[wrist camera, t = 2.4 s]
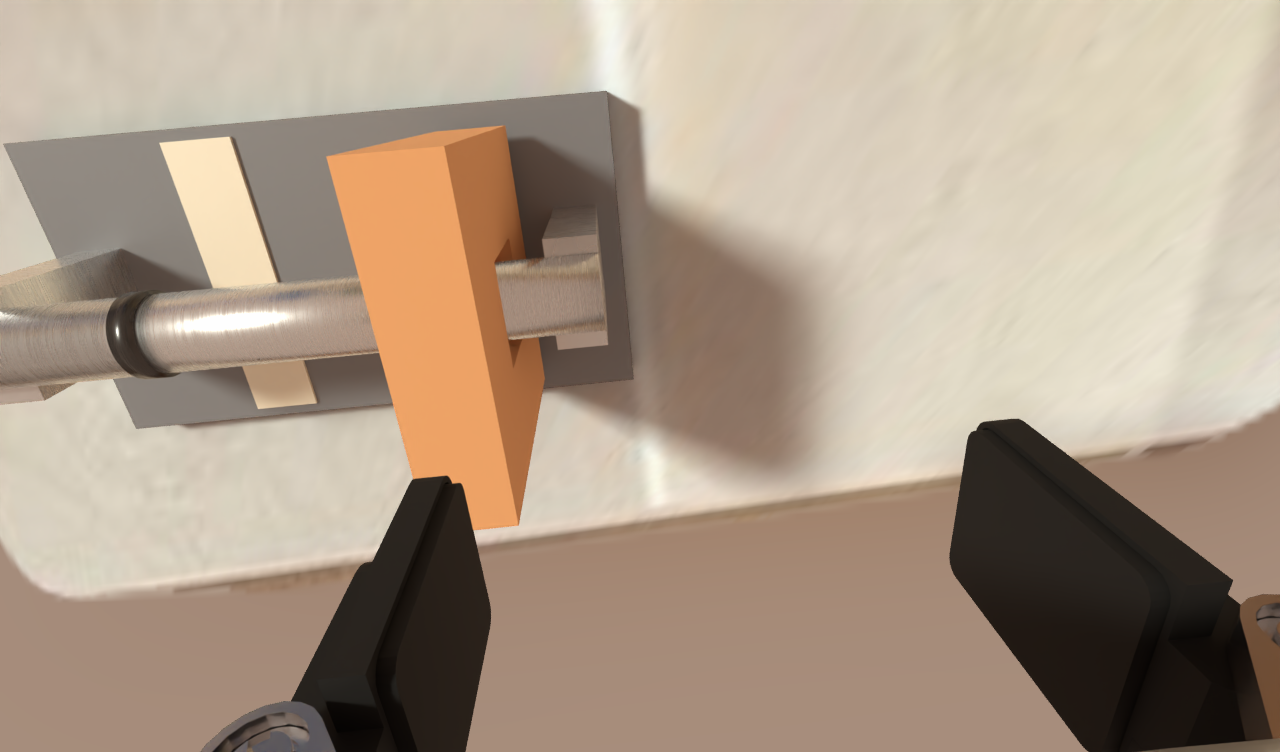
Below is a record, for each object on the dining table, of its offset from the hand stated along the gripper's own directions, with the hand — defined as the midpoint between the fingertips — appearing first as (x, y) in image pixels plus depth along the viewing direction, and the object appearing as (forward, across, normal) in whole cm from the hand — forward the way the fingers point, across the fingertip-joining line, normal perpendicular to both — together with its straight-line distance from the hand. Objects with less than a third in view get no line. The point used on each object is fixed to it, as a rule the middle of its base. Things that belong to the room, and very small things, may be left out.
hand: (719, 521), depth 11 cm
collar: (+21, +7, 0) cm, 22 cm away
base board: (+23, +14, 0) cm, 27 cm away
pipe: (+22, +14, 0) cm, 26 cm away
